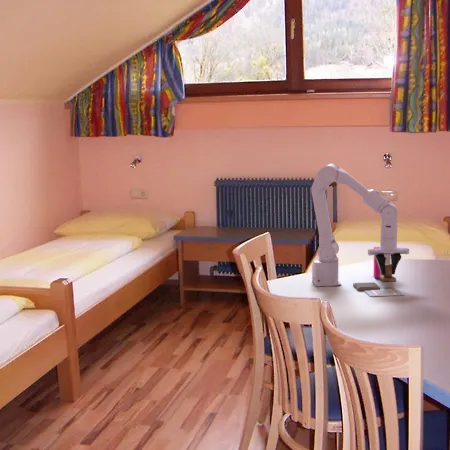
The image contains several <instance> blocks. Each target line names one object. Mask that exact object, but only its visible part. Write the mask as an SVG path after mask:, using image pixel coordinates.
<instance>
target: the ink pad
mask: <svg viewBox="0 0 450 450" xmlns="http://www.w3.org/2000/svg"><path fill="white" fill-rule="evenodd" d="M352 285H353V287H354V289H356V291H358V292H365V291H371V290H381V286H379V285H378V284H377V283H376V282H374V281H373V282H372V281H371V282H354V283H352Z"/></svg>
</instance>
